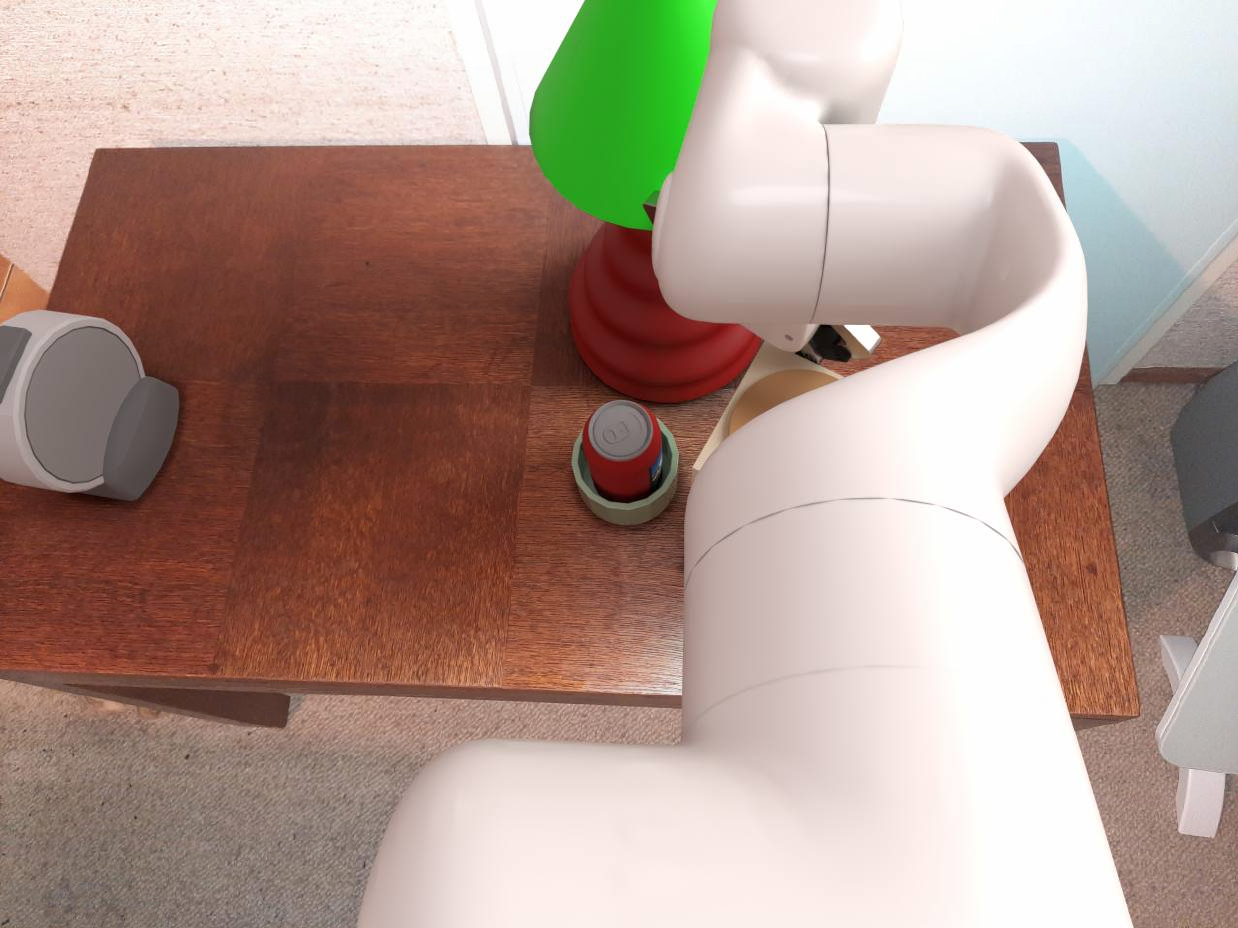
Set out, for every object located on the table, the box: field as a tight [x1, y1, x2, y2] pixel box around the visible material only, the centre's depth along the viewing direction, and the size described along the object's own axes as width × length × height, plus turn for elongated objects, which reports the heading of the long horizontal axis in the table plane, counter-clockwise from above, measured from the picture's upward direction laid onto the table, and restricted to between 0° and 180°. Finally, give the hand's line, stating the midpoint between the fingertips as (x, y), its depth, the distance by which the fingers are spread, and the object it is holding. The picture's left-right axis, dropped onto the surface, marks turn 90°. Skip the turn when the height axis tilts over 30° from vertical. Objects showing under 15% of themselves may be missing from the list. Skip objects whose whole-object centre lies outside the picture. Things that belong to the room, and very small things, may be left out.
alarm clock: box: [0, 309, 180, 502], centre depth 78 cm, size 16×10×18 cm, turn 170°
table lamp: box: [528, 0, 763, 403], centre depth 67 cm, size 20×20×45 cm
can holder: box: [570, 417, 680, 526], centre depth 80 cm, size 10×10×6 cm
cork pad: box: [729, 369, 839, 436], centre depth 53 cm, size 9×9×1 cm
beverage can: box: [582, 399, 662, 504], centre depth 76 cm, size 7×7×12 cm
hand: (747, 325), depth 60 cm, fingers open, 9 cm apart
